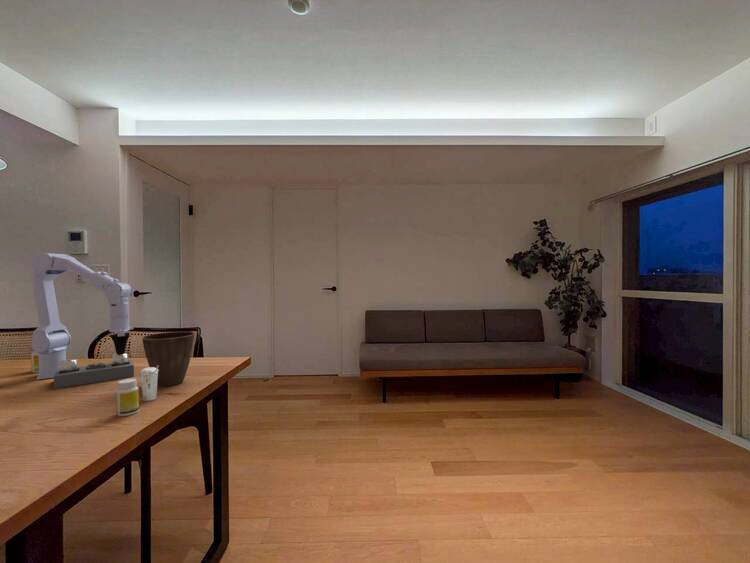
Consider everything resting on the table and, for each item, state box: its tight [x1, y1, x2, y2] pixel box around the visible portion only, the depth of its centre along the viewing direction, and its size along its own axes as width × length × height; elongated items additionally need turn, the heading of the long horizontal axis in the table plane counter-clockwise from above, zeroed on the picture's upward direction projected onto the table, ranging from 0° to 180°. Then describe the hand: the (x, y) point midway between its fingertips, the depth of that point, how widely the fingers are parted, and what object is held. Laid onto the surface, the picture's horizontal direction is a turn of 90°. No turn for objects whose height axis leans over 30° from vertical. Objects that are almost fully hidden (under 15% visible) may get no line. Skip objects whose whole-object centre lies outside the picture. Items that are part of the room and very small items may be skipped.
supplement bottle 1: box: [30, 348, 39, 374], centre depth 133 cm, size 5×5×10 cm
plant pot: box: [141, 331, 195, 387], centre depth 116 cm, size 15×15×16 cm
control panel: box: [53, 359, 135, 390], centre depth 122 cm, size 11×21×4 cm, turn 129°
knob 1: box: [60, 358, 79, 373], centre depth 118 cm, size 4×4×4 cm
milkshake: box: [139, 365, 159, 402], centre depth 101 cm, size 5×5×10 cm
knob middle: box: [87, 362, 105, 370], centre depth 122 cm, size 4×4×4 cm
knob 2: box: [112, 352, 129, 366], centre depth 127 cm, size 4×4×4 cm
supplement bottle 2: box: [115, 378, 140, 417], centre depth 91 cm, size 5×5×8 cm
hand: (120, 353), depth 127 cm, fingers closed
